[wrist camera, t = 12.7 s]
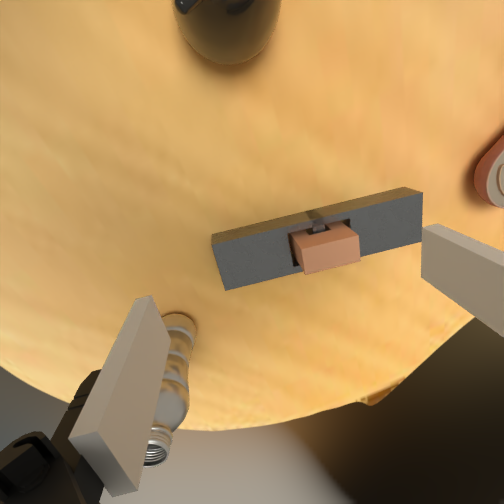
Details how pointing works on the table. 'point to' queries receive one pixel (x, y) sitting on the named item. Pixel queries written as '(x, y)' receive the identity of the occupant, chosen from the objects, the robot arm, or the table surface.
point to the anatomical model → (491, 175)
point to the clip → (325, 248)
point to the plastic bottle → (172, 389)
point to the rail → (349, 213)
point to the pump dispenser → (227, 27)
